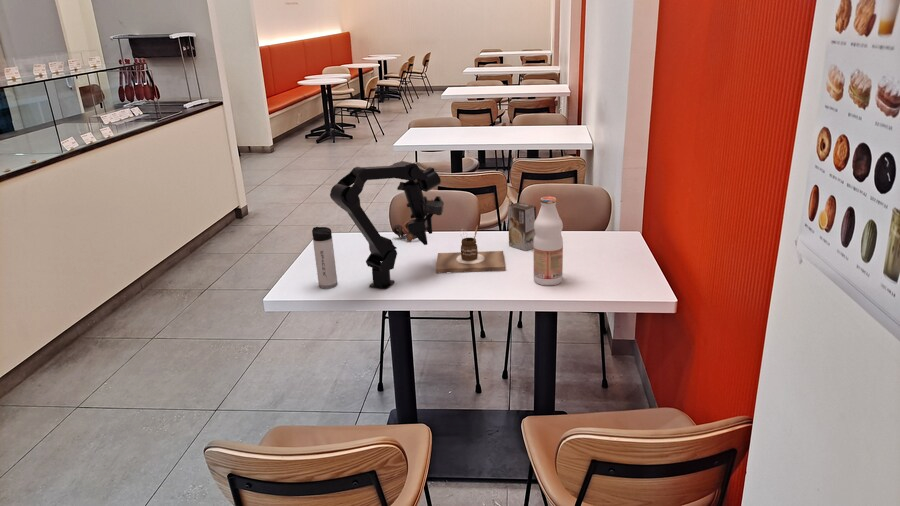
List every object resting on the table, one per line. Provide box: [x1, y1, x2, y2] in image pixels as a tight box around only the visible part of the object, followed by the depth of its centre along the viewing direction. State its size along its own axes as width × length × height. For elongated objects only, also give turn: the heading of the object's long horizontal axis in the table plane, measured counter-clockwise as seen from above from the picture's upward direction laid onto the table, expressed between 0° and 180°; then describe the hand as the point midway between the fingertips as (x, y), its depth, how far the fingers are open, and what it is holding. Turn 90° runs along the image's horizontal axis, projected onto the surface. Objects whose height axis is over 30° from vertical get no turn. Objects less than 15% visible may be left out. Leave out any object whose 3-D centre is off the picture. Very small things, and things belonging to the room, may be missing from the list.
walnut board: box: [435, 250, 506, 274], centre depth 226 cm, size 24×16×2 cm, turn 88°
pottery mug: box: [392, 220, 418, 243], centre depth 255 cm, size 12×10×8 cm
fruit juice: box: [533, 196, 564, 286], centre depth 204 cm, size 9×9×28 cm
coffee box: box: [507, 201, 537, 252], centre depth 238 cm, size 9×6×16 cm
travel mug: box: [311, 226, 338, 289], centre depth 211 cm, size 6×7×20 cm
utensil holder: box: [460, 225, 479, 261], centre depth 224 cm, size 6×6×12 cm
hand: (428, 238), depth 218 cm, fingers open, 9 cm apart
